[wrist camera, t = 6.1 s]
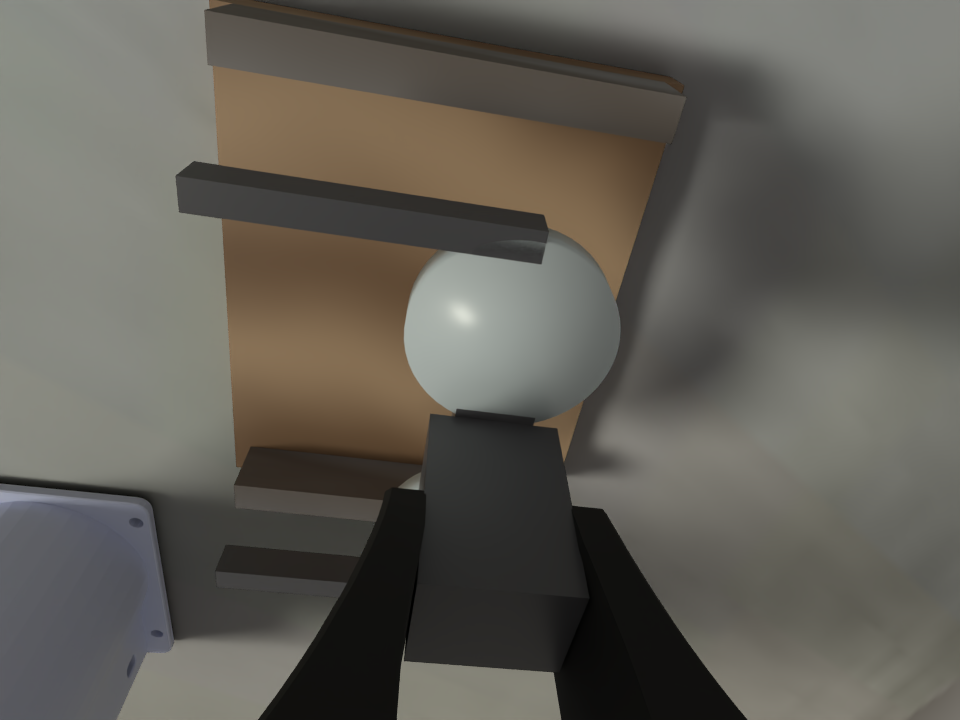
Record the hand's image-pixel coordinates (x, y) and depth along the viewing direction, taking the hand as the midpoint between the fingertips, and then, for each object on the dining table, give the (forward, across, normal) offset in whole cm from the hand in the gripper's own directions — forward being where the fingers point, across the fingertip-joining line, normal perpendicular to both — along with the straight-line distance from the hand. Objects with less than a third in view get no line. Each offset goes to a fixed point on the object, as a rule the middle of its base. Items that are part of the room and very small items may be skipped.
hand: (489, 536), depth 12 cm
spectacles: (+3, +2, 0) cm, 3 cm away
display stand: (+9, +2, 0) cm, 10 cm away
